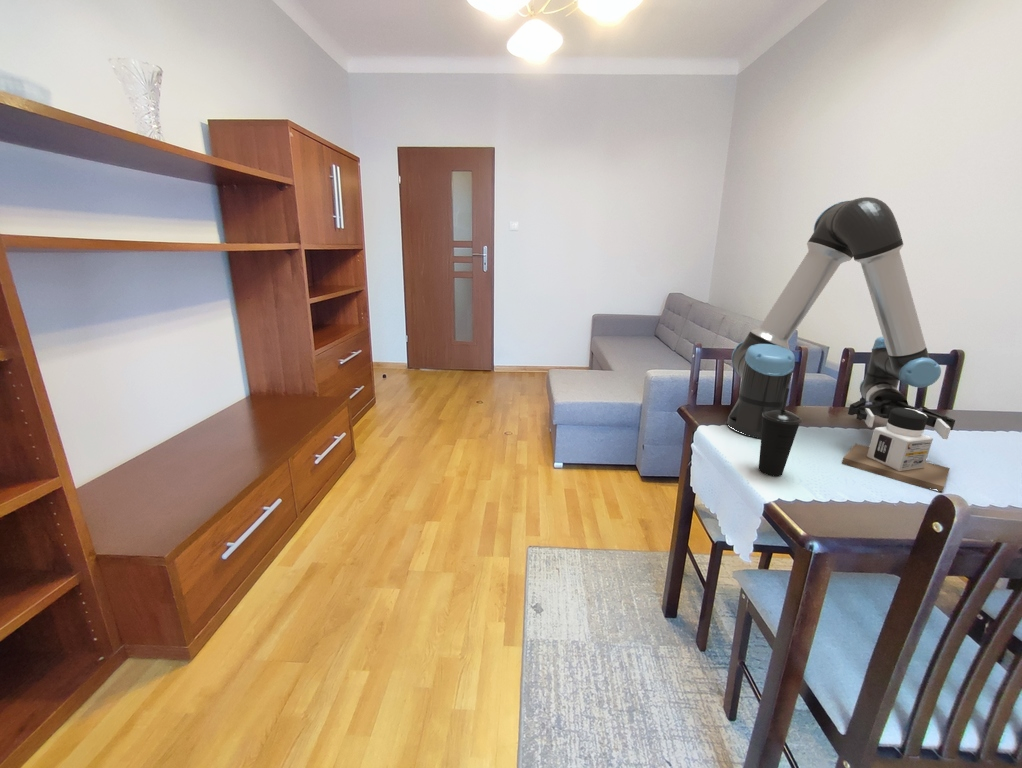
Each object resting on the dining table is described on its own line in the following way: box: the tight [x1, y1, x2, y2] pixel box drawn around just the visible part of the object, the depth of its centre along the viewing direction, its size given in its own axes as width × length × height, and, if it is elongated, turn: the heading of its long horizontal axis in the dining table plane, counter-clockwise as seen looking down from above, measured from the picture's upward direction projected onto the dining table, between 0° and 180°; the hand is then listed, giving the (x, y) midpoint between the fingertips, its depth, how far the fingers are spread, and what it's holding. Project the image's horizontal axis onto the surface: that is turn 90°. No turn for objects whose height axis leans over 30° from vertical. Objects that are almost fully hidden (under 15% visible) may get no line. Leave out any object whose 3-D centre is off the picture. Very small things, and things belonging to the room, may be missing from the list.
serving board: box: [841, 443, 951, 494], centre depth 108 cm, size 18×13×2 cm
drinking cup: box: [758, 387, 803, 478], centre depth 102 cm, size 8×8×20 cm
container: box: [867, 408, 934, 471], centre depth 106 cm, size 8×8×13 cm
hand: (908, 427), depth 104 cm, fingers open, 13 cm apart
